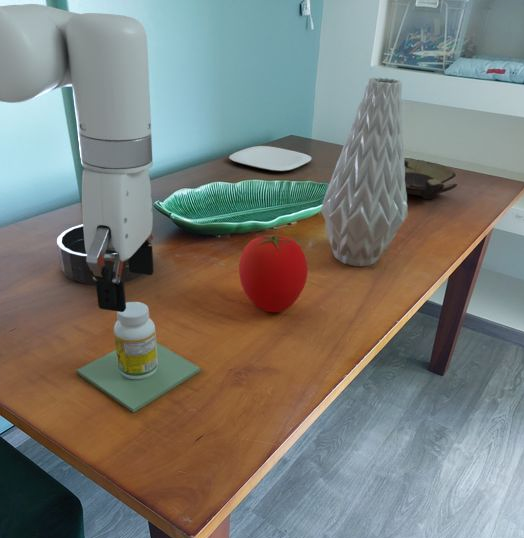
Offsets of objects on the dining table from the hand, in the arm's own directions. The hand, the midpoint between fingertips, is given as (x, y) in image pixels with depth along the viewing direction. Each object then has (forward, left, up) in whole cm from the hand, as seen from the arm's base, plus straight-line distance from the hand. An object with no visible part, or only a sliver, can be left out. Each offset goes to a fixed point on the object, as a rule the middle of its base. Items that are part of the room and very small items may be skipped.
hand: (127, 290), depth 67 cm
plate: (+94, +52, -13) cm, 108 cm away
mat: (0, 0, -13) cm, 13 cm away
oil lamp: (+102, +9, -13) cm, 103 cm away
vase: (+55, -2, -13) cm, 57 cm away
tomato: (+27, -2, -13) cm, 30 cm away
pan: (+17, +30, -13) cm, 37 cm away
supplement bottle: (0, 0, -13) cm, 13 cm away
